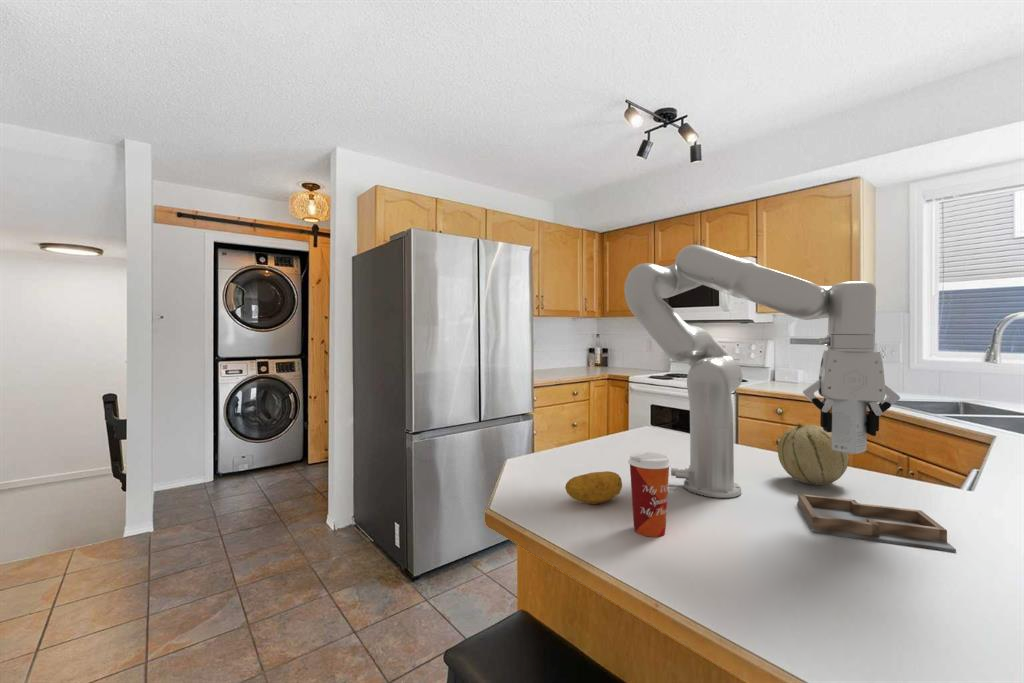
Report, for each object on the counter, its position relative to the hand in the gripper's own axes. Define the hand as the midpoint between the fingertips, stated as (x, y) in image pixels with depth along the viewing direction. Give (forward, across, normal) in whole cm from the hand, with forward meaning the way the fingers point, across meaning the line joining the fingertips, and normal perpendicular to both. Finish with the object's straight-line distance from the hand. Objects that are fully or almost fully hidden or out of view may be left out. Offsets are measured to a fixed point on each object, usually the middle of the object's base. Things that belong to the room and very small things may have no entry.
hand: (848, 432), depth 89 cm
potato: (+18, -49, -10) cm, 53 cm away
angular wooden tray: (+17, +2, -3) cm, 18 cm away
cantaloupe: (+18, -1, +23) cm, 29 cm away
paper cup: (+18, -36, -21) cm, 46 cm away
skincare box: (+4, 0, 0) cm, 4 cm away
